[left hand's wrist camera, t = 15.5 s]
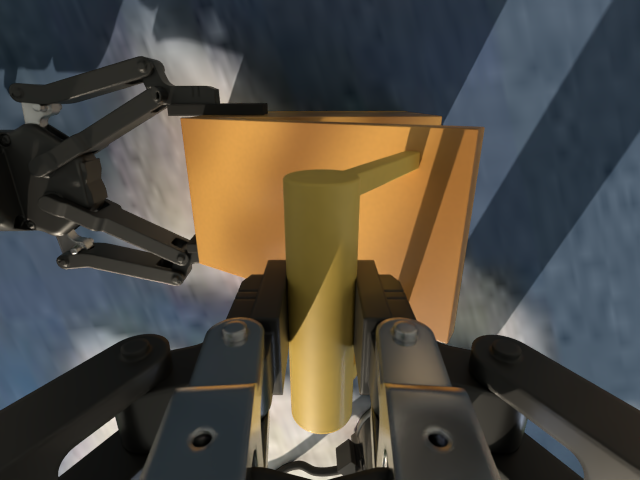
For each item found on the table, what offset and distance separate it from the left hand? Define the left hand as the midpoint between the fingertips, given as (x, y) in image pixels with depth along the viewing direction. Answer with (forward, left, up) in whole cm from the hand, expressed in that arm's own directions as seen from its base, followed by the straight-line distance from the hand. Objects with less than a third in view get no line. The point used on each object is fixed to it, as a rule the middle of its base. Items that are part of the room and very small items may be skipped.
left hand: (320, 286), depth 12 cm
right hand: (-3, +2, -17) cm, 18 cm away
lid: (0, 0, -9) cm, 9 cm away
